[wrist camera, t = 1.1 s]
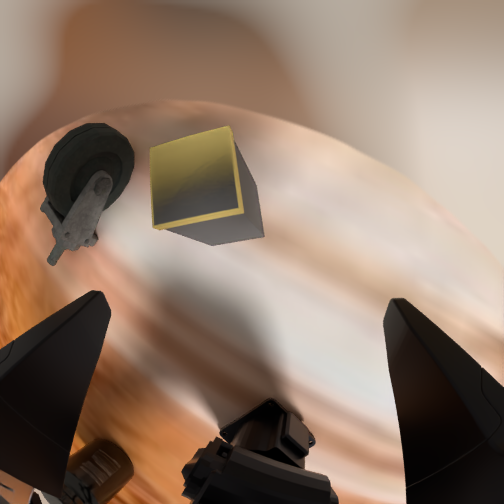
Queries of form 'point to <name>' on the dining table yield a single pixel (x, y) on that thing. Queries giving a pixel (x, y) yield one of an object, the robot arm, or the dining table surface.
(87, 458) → the supplement bottle
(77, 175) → the caster wheel
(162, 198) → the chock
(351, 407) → the dining table surface
